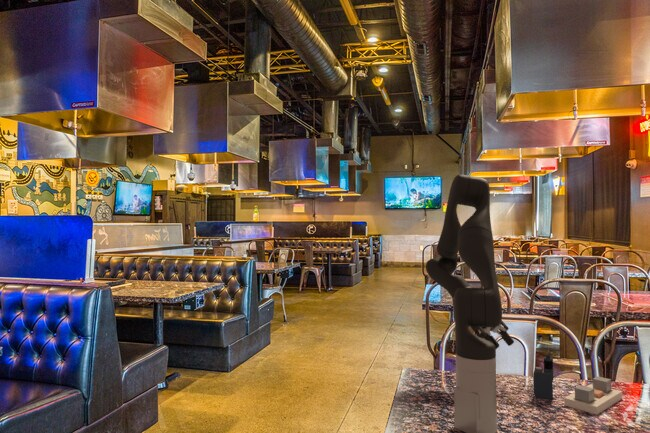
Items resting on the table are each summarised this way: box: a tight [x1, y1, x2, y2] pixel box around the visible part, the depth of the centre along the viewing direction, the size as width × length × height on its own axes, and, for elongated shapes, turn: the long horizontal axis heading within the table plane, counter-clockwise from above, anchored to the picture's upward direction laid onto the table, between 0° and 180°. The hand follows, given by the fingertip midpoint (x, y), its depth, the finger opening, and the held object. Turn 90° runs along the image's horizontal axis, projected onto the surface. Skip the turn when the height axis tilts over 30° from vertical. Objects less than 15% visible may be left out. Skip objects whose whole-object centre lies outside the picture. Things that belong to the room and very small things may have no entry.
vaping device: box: [532, 353, 555, 400], centre depth 126 cm, size 3×5×12 cm, turn 75°
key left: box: [574, 384, 595, 402], centre depth 118 cm, size 4×4×3 cm
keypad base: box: [563, 383, 623, 415], centre depth 122 cm, size 18×8×2 cm, turn 129°
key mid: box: [594, 389, 603, 399], centre depth 122 cm, size 4×4×3 cm
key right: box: [592, 375, 612, 392], centre depth 126 cm, size 4×4×3 cm
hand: (504, 346), depth 134 cm, fingers open, 8 cm apart
